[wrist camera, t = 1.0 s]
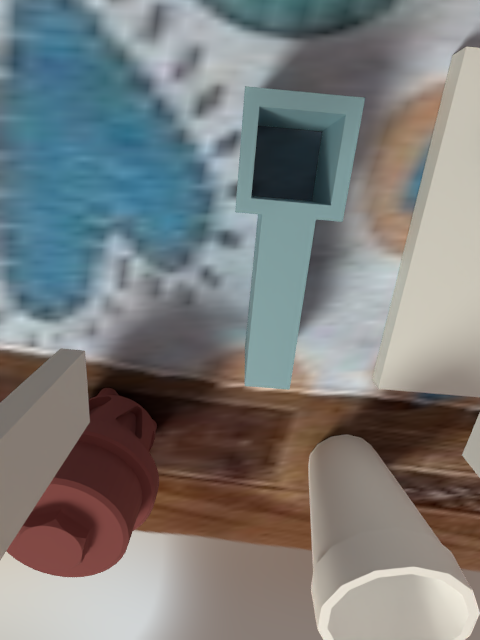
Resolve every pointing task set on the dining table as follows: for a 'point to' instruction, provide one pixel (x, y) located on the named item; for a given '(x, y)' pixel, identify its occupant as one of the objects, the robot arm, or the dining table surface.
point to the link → (290, 220)
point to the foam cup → (378, 554)
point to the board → (441, 256)
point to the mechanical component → (94, 494)
